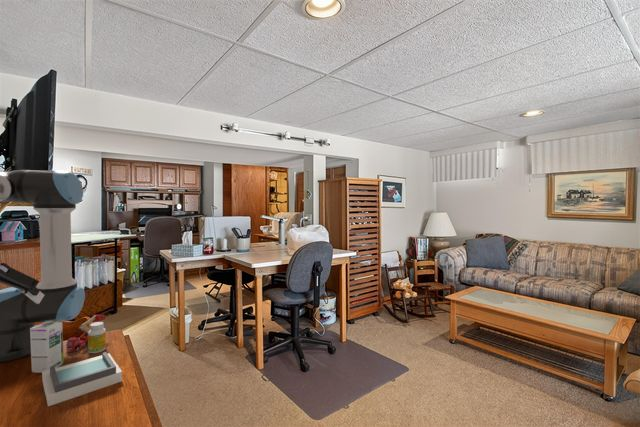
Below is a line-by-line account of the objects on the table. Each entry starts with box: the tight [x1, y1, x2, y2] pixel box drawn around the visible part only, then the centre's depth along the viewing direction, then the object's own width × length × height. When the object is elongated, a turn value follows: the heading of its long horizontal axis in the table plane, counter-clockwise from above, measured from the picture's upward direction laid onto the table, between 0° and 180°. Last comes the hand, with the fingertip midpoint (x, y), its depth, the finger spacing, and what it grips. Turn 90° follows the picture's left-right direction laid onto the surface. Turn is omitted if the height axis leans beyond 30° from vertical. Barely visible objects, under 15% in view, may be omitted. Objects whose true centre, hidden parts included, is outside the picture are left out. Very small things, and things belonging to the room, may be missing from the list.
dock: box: [41, 351, 123, 407], centre depth 95 cm, size 16×17×5 cm
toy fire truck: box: [65, 313, 106, 353], centre depth 119 cm, size 3×14×10 cm, turn 169°
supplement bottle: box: [87, 321, 107, 354], centre depth 115 cm, size 5×5×10 cm
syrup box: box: [30, 321, 65, 374], centre depth 102 cm, size 6×6×14 cm
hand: (15, 299), depth 90 cm, fingers open, 13 cm apart
